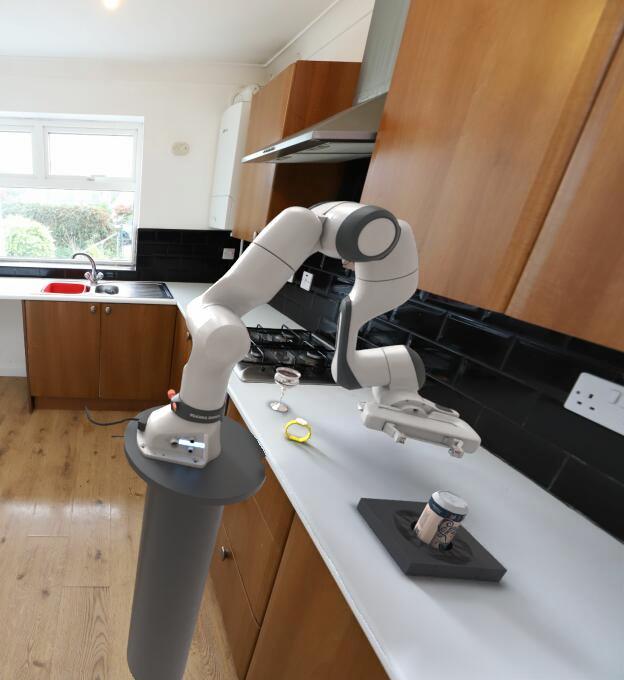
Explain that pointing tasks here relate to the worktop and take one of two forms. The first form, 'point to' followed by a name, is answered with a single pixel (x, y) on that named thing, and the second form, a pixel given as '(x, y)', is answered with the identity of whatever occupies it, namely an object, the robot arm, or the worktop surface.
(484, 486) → the worktop surface
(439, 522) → the beer can
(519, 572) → the worktop surface
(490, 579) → the base
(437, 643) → the worktop surface
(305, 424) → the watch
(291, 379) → the wineglass
